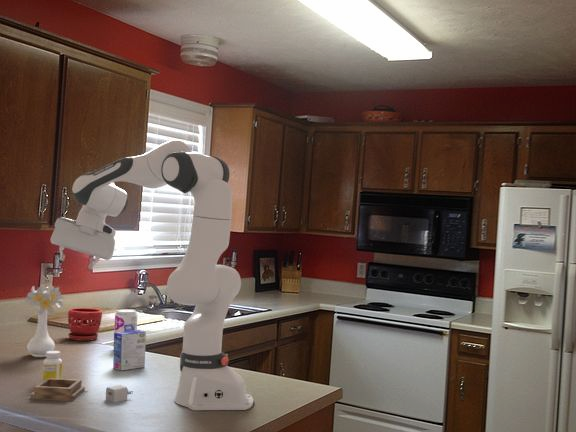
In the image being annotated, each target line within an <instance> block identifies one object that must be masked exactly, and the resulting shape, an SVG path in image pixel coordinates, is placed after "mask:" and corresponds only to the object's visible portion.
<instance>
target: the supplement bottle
mask: <svg viewBox="0 0 576 432" xmlns="http://www.w3.org/2000/svg"><path fill="white" fill-rule="evenodd" d="M60 357H61V351H59V350H53V351H48V352H46V357H45V359H44V360H43V362H42V363H43V366H42V367H43V368H42V381H44V380H45V379H47V378H55V379H63V377H62V376H63V360H62V358H60Z"/></svg>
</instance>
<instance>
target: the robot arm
mask: <svg viewBox="0 0 576 432" xmlns="http://www.w3.org/2000/svg"><path fill="white" fill-rule="evenodd" d="M229 180H230V169H229V166H228V164H227V163H226V162H225V161H224V160H223V159H220V158H219V157H216V156H214V155H206V154H202V153H199V152H192V149H191V147H190V146H189V145H188V143H186V142H185V141H183V140H181V139H171V140H169V141H166V142H164V143H162V144H159V145H158V146H156V147H154V148H153V149H151V150H150V151H148V152H146V153H144V154H141V155H135V156H128V157H127V156H126V157H123V158H119V159H117V160H114V161H113V162H110V163H108V164H106V165H104V166H103V167H100V168H98V169H96V170H94V171H90V172H89V171H88V172H86V173H83V174H81V175H79V176H78V177H77V178H76V179H75V180H74V182H73V184H72V185H71V195H72V197H73V199H74V201H75V202H76V203H77V204H80V205H82V207H81V208H80V210H79V211H78V215H77V216H76V220H74V219H70V218H66V217H64V216H62V217H57V219H56V220H55V222H54V230H53V232H52V234H51V237H50V243H51V244H52V245H55V246H59V248H58V249H59V250H58V251H59V254H60V256H59V258H58V260H59V261H62V262H64V261H65V259H66V254H64V253H63V251H64V250H65V249H69V250H71V251H75V252H76V251H77V252H79V253H83V254H86V255H88V256H93V257H94V261H93V262H89V265H88V267H87V268H88V270H93V269H94V266H95V265H96V264H98V262H100V260H106V261H109V260H111V259H112V258H113V255H114V251H115V244H116V240H115V235H116V230H115V229H114V228H113V227H111V226H110V225H109V224H107V223H106V218H107V216H110V217H114V218H117V217H120V216H122V215H123V214H124V213H126V211H127V209H128V208H129V203H130V200H129V199H130V198H129V194H128V193H127V192H126V191H125V190H124V189H122V188H120V187H118V186H116V184H115V183H116V182H124V183H129V184H130V183H131V184H135V185H137V186H141V187H144V188H147V189H158V188H162V187H165V186H167V185H168V186H170V187H172V188H173V189H176V190H178V191H179V192H182V193H183V194H188V193H190V194H191V195H192V196H193V199H194V201H193V203H194V205H193V211H192V212H193V213H192V221H191V229H190V235H189V242H188V245H187V248H186V251H185V254H184V256H183V258H182V259H181V262H180V263H179V265H178V266H177V267H176V268H175V270H173V271H172V272H171V273H170V275H169V276H168V279H167V282H166V291H167V293H168V296H169V298H170V299H171V301H173V302H174V303H176V304H179V305H183V306H195V307H194V308H193V312H192V313H191V315H190V316H189V318H188V319H187V320H186V321H185V322H184V325H183V335H182V338H183V339H182V350H181V352H180V356H179V357H180V358H179V359H180V360H179V371H180V376H179V381H178V387H177V390H176V394H175V397H174V401H173V402H175V403H176V404H178V405H179V406H183V407H186V408H187V409H190V410H192V411H246V410H249V409H251V408H252V407H253V405H254V398H253V396H252V395H251V394H249V393H247V387H246V383H245V380H244V378H242V377H241V375H239V374H238V373H237V372H235V371H234V370H233V369H232V368H231V367H229V366H228V365H229V361H230V360H229V355H228V353H224V352H223V351H222V345H223V332H224V324H225V320H226V317H227V314H228V311H229V308H230V306H231V304H232V302H233V300H234V299H235V297H236V296H237V295H238V294H239V292H240V290H241V287H242V278H241V276H240V273H239V271H237V270H236V268H234V267H231V266H228V265H224V264H217V263H218V261H219V259H220V258H221V255H222V254H223V253H224V252H225V251H226V250H227V249H228V247H229V244H230V238H231V228H232V227H231V226H232V217H233V195H232V194H233V193H232V187H231V185H230V184H229Z"/></svg>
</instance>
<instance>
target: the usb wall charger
mask: <svg viewBox="0 0 576 432" xmlns="http://www.w3.org/2000/svg"><path fill="white" fill-rule="evenodd" d="M133 392H134V391H133V390H130V391H129V389H128V387H127V386H124V385H122V384H119V385H118V384H117V385H114V386H109V387H106V389H105V400H106V401H108V402H111V403H119V402H124V401H127V400H128V396H129V395H132V394H133Z"/></svg>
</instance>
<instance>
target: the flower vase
mask: <svg viewBox="0 0 576 432" xmlns="http://www.w3.org/2000/svg"><path fill="white" fill-rule="evenodd" d="M64 300H65V298H64V296H62V293H61V291H60V286H59V285H58V286H57V287H55V286H53V285H50V286H49V287H46V285H45V284H43V283H41V284H40V286H39V287H37V289H36V290H35V287H34V285H32V287H31V289H30V291H29V292H28V293H27V295H26V297H25V302H24V303H23V305H26V304H27V303H28V304H27V306H28V307H32V306H34V305H35V306H37V310H38V311H37V313H38V314H37V325H36V326H37V327H36V331H35V334H34V335H33V337H32V338H31V339H30V340H29V341H28V343H27V345H26V347H27V350H28V352H29V353H30V354H31V357H33V356H34V358H47V357H46V352H48V351H55V348H56V345H55V343H56V342H55V341H54V339H53V338H51V336H50V334H49V332H48V313H49V314H52V315H53V314H54V313H55V310H54V308H53V306H56V307H57V308H61V307H62V306H63V302H62V301H64Z"/></svg>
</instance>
